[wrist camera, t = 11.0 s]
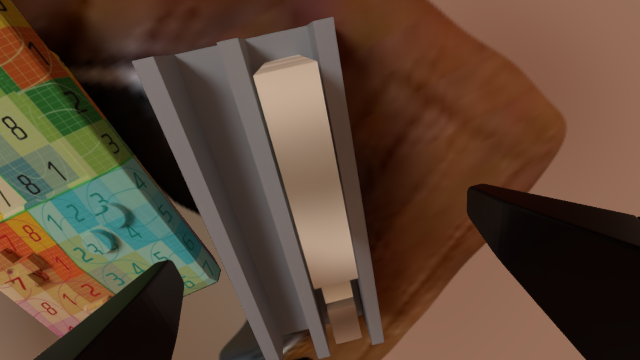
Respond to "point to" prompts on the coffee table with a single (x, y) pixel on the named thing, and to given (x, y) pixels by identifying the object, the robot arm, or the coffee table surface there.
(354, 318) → the offcut dark
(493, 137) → the coffee table surface
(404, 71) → the coffee table surface
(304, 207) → the beige square panel
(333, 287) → the offcut light
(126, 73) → the coffee table surface
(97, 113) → the puzzle game
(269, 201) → the rack
